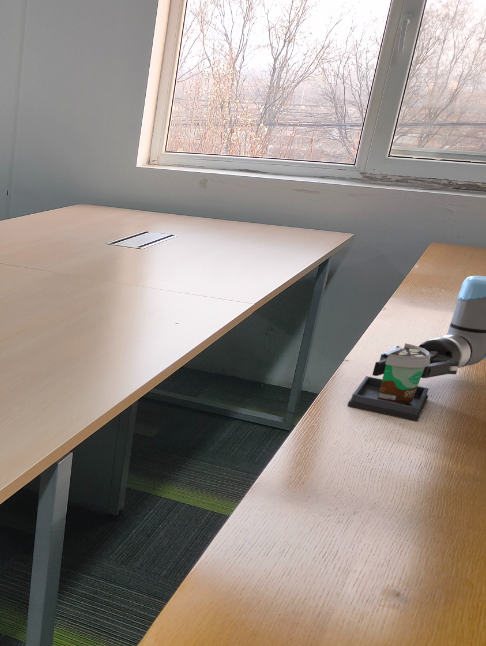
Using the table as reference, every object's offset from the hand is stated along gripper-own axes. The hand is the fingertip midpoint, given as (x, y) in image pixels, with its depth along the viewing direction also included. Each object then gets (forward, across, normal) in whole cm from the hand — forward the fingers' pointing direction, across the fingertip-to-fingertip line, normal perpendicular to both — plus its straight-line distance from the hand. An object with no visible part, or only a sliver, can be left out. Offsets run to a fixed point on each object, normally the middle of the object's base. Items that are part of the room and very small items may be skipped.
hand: (383, 371), depth 158 cm
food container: (-5, -2, -6) cm, 9 cm away
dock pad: (-5, 0, -8) cm, 9 cm away
